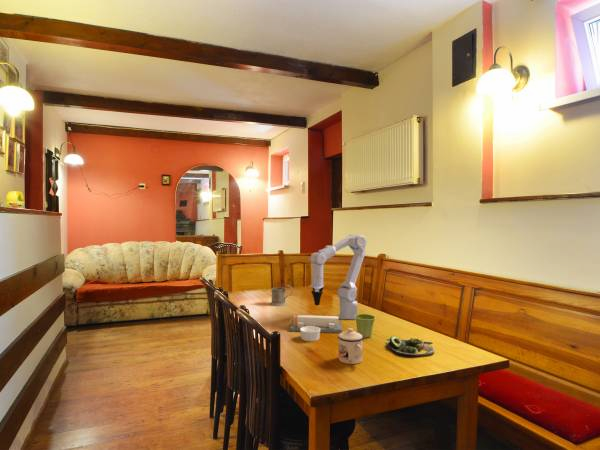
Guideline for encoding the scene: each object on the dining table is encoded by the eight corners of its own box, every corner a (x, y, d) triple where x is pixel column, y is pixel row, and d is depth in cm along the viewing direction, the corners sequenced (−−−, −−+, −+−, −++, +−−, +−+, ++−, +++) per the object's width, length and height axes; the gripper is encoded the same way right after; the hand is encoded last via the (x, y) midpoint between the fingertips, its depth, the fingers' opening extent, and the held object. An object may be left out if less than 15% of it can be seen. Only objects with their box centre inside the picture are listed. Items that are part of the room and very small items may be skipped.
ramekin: (316, 343, 155) (316, 332, 154) (297, 340, 158) (297, 330, 158) (322, 336, 163) (322, 327, 163) (304, 334, 166) (304, 325, 166)
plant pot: (376, 333, 167) (376, 314, 167) (373, 340, 158) (374, 320, 158) (356, 331, 170) (356, 313, 170) (352, 338, 161) (352, 318, 161)
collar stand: (341, 325, 180) (341, 318, 180) (342, 333, 168) (342, 325, 168) (292, 323, 182) (292, 316, 182) (289, 331, 170) (289, 323, 170)
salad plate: (421, 340, 159) (421, 330, 159) (446, 355, 142) (447, 343, 142) (380, 343, 155) (380, 332, 155) (401, 359, 138) (401, 347, 137)
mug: (267, 305, 221) (267, 285, 221) (274, 301, 230) (274, 282, 230) (289, 307, 216) (289, 287, 215) (295, 303, 225) (296, 284, 224)
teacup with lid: (333, 357, 138) (333, 326, 138) (354, 354, 142) (354, 324, 142) (350, 369, 127) (350, 336, 127) (372, 365, 131) (372, 332, 131)
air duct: (338, 324, 176) (338, 316, 176) (338, 327, 172) (338, 318, 172) (294, 323, 178) (294, 314, 178) (293, 325, 174) (293, 316, 174)
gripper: (310, 274, 193) (310, 299, 193) (308, 278, 179) (308, 306, 179) (323, 274, 192) (323, 300, 193) (323, 279, 178) (323, 306, 178)
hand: (317, 303), depth 186 cm, fingers open, 7 cm apart
